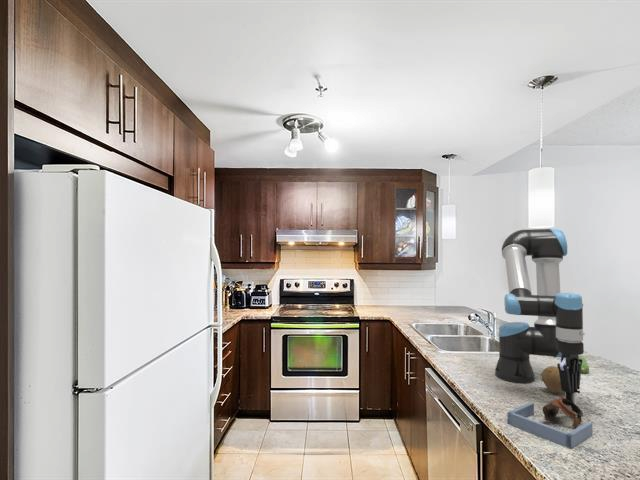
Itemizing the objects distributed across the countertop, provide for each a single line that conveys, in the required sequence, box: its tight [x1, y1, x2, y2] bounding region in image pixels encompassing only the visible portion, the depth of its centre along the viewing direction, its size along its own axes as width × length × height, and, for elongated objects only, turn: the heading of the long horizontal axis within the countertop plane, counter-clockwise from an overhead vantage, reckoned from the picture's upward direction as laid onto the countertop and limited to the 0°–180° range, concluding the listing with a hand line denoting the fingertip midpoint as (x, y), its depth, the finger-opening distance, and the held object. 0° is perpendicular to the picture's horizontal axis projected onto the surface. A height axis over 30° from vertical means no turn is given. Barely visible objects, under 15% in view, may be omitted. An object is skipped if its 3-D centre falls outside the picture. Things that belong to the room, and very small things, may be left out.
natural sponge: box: [540, 365, 564, 394], centre depth 142 cm, size 9×9×10 cm
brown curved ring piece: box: [541, 397, 584, 429], centre depth 117 cm, size 12×9×8 cm
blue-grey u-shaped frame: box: [506, 402, 594, 450], centre depth 113 cm, size 18×14×4 cm
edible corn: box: [578, 355, 590, 374], centre depth 171 cm, size 5×20×5 cm
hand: (571, 412), depth 121 cm, fingers closed
